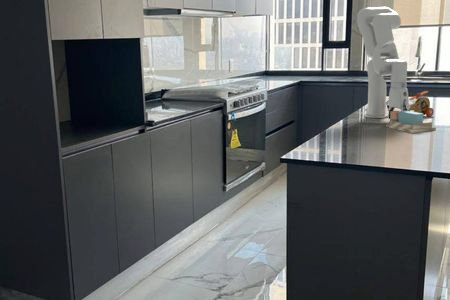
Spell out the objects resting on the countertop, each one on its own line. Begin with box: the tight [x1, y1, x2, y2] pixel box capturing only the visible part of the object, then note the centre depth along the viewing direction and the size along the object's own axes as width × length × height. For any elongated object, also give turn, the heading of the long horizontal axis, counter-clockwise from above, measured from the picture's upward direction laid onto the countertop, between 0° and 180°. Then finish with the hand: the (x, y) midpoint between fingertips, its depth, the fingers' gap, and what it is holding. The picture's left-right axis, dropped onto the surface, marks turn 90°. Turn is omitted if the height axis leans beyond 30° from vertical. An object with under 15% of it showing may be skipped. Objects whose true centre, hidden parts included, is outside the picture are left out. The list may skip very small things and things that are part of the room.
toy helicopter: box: [403, 90, 435, 118], centre depth 265 cm, size 8×21×14 cm, turn 121°
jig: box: [385, 118, 437, 134], centre depth 237 cm, size 18×14×4 cm
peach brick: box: [389, 109, 400, 120], centre depth 252 cm, size 4×5×6 cm
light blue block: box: [398, 110, 424, 125], centre depth 237 cm, size 12×4×6 cm, turn 22°
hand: (397, 119), depth 252 cm, fingers open, 8 cm apart
